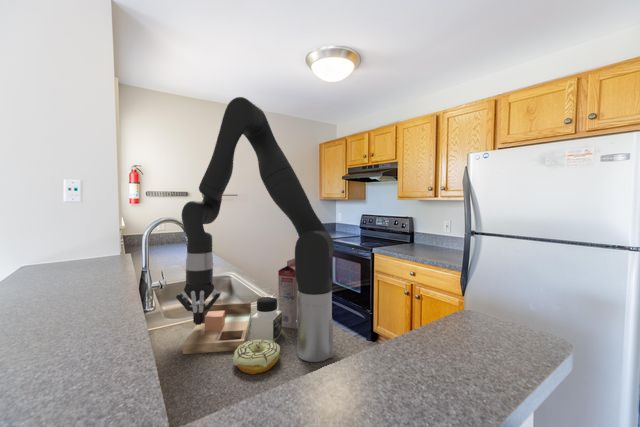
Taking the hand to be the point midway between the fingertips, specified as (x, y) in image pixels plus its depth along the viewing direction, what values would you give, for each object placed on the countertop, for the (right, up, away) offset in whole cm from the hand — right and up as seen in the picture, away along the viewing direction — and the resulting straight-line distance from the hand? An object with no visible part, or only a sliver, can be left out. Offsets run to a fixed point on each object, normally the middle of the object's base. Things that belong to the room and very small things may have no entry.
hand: (198, 323), depth 85 cm
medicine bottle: (+21, -4, 0) cm, 21 cm away
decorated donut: (+21, -5, -14) cm, 25 cm away
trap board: (+6, -4, +2) cm, 8 cm away
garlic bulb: (+17, -4, +21) cm, 28 cm away
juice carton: (+27, -4, +10) cm, 29 cm away
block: (+4, -2, +2) cm, 5 cm away
